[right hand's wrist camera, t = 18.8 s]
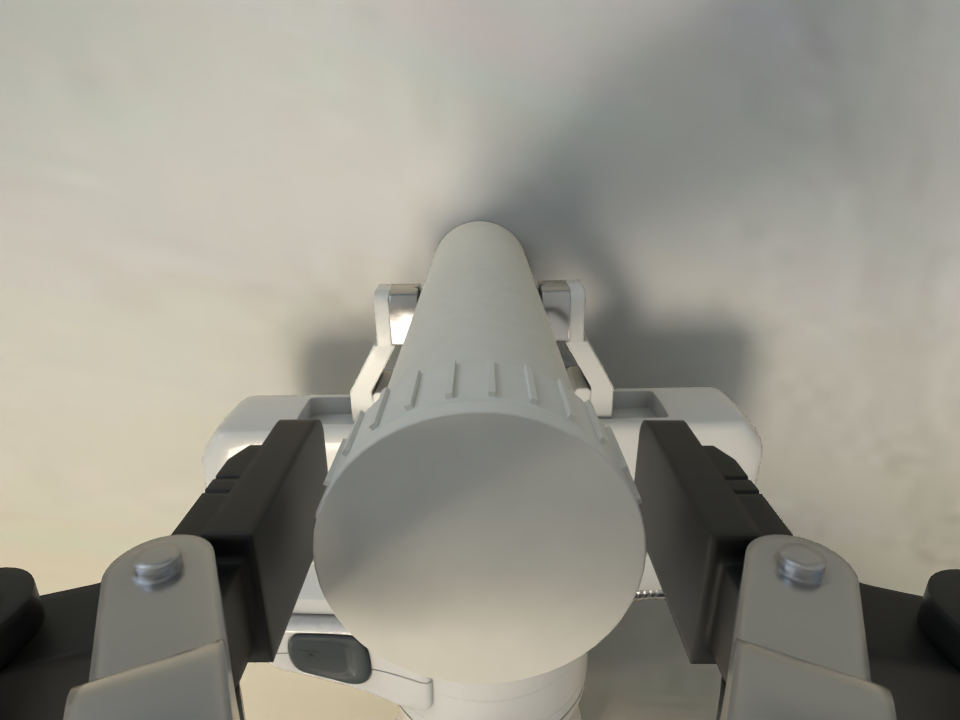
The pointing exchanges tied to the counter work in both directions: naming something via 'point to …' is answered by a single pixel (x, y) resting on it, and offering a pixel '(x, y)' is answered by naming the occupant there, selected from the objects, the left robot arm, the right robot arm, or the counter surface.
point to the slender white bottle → (479, 308)
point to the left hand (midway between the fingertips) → (478, 285)
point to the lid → (479, 525)
